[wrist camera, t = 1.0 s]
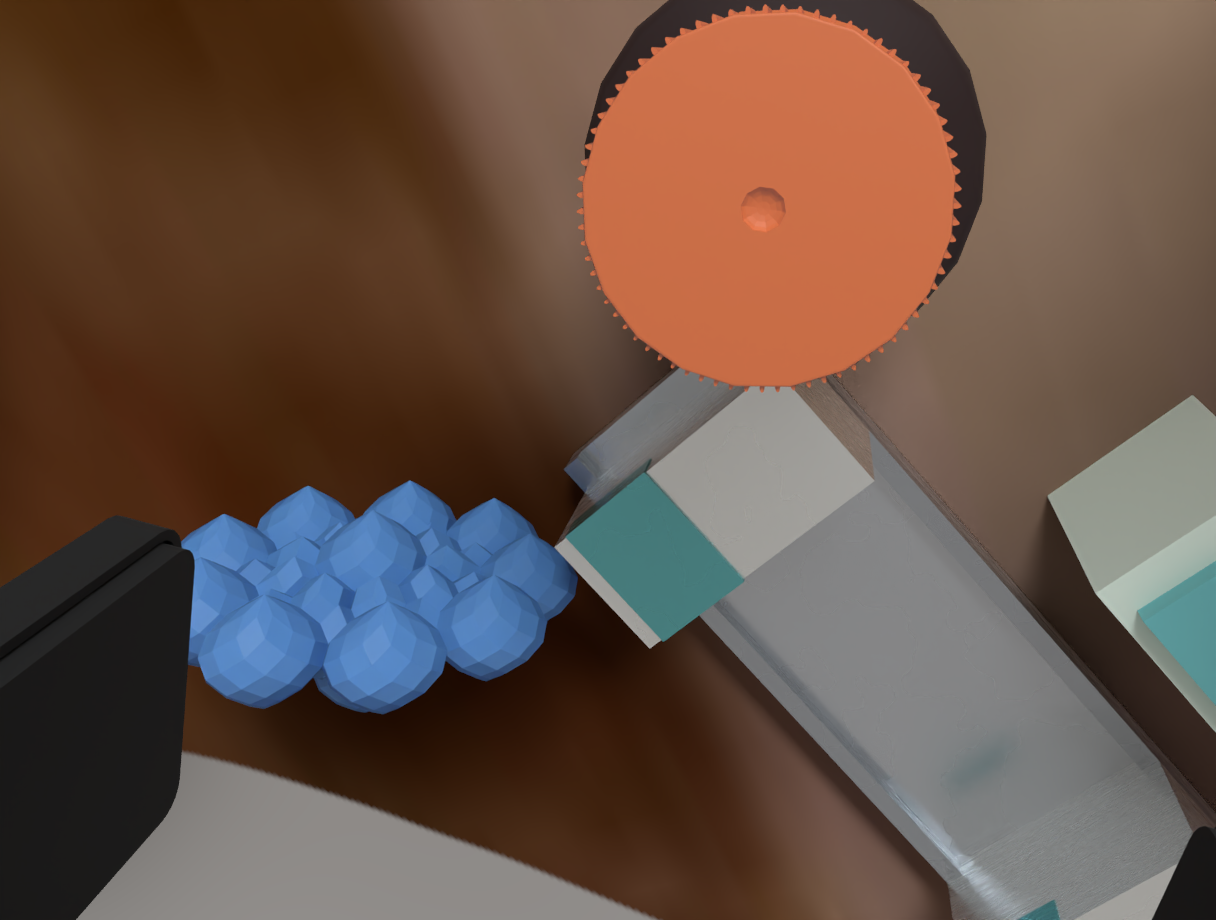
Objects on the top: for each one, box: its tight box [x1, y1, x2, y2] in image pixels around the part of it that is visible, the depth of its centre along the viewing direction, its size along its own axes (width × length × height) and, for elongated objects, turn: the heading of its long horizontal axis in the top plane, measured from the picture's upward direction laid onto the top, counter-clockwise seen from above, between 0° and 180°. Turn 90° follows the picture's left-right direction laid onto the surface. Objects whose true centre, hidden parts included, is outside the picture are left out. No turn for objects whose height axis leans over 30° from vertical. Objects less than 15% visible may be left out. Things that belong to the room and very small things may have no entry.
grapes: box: [181, 481, 578, 714], centre depth 34 cm, size 12×7×12 cm, turn 84°
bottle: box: [577, 0, 986, 393], centre depth 24 cm, size 7×7×20 cm
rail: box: [554, 366, 1216, 920], centre depth 35 cm, size 8×24×6 cm, turn 43°
